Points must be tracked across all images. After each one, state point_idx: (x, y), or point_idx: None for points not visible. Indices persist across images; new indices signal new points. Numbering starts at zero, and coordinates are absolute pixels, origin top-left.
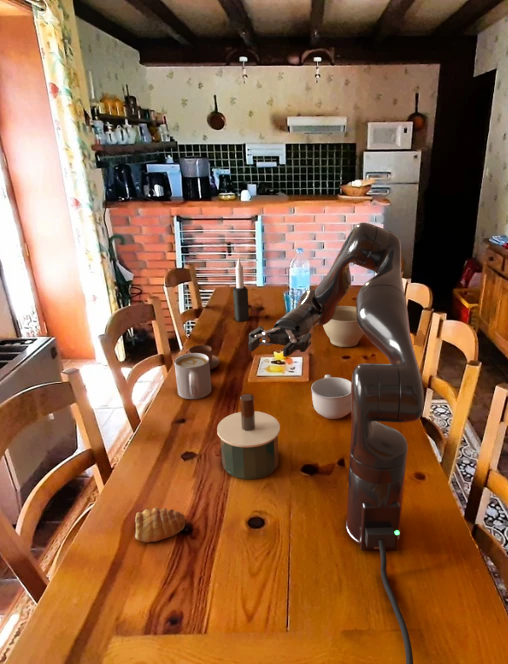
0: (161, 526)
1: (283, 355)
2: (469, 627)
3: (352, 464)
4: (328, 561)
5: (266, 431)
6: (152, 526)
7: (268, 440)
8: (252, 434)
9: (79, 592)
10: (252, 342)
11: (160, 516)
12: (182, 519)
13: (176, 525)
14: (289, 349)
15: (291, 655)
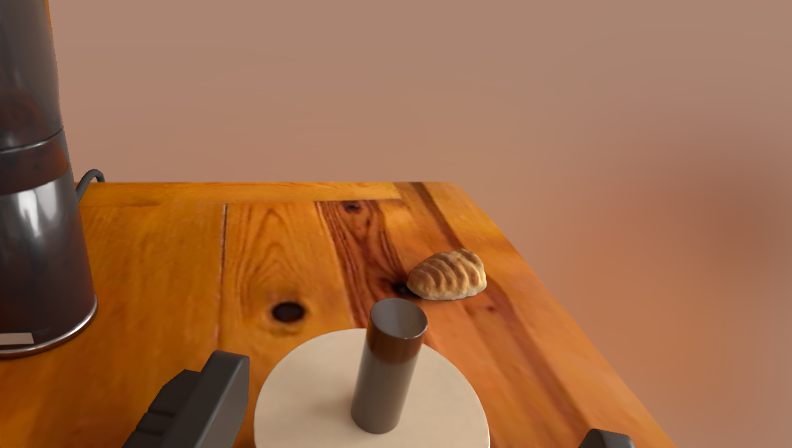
0: (432, 257)
1: (245, 399)
2: None
3: (66, 143)
4: (154, 264)
5: (303, 398)
6: (443, 252)
7: (287, 355)
8: (347, 375)
9: (466, 222)
10: (603, 438)
11: (443, 261)
12: (412, 278)
13: (414, 268)
14: (179, 373)
15: (221, 191)
